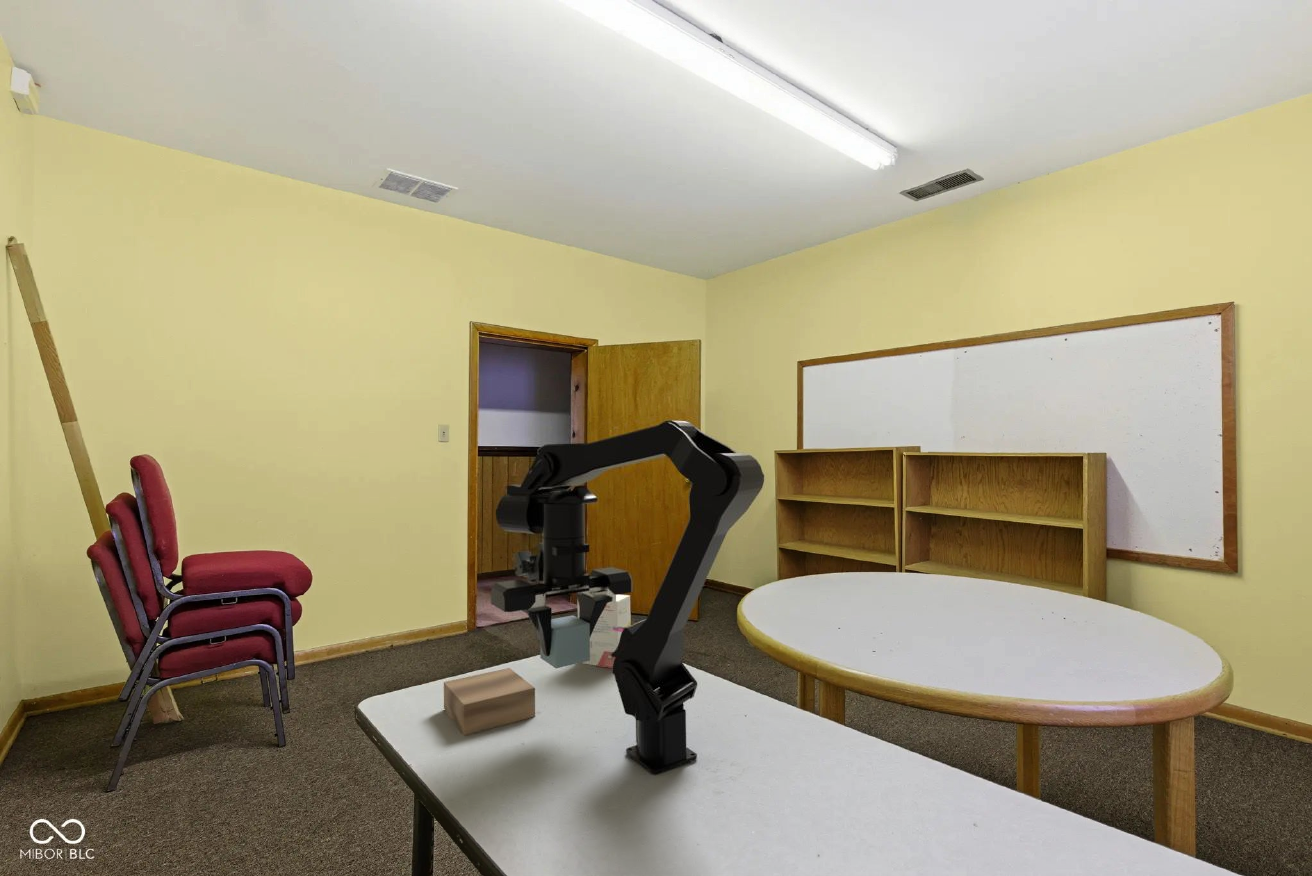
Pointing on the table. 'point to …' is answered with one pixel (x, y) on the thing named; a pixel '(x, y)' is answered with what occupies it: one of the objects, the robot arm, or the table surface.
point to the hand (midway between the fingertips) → (565, 651)
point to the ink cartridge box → (609, 630)
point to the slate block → (568, 642)
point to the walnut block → (488, 700)
